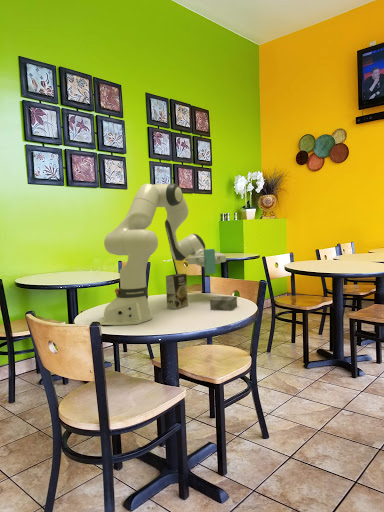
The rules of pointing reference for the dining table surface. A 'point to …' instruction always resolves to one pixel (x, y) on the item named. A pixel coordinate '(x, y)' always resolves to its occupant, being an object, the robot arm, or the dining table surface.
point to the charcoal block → (223, 303)
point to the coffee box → (176, 291)
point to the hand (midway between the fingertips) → (210, 260)
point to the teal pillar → (209, 261)
